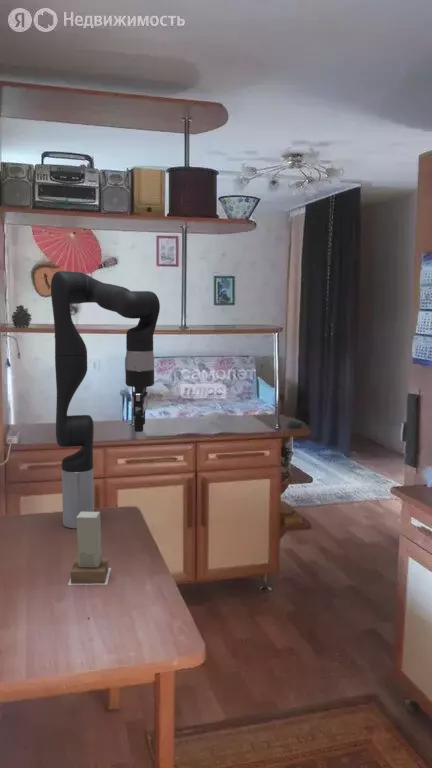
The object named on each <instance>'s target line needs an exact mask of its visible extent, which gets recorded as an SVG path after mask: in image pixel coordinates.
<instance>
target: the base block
mask: <svg viewBox="0 0 432 768" xmlns="http://www.w3.org/2000/svg"><path fill="white" fill-rule="evenodd" d="M108 568H109V557H102V561H101V563H100V565H99V567H94V568H91V567H78V557H76V558H75V559H74V562H73V565H72V568H71V570H70V578H71V584H96V583H105V580H106V576H107V573H108Z"/></svg>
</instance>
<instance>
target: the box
mask: <svg viewBox="0 0 432 768" xmlns="http://www.w3.org/2000/svg"><path fill="white" fill-rule="evenodd" d="M76 523H77V528H76V540H77V541H76V542H77V543H76V544H77V558H78V567H91V568H94V567H99V565H100V563H101V561H102V558H103V556H102V555H103V554H102V553H103V549H102V528H101V527H102V524H101V512H100V511H94V512H80V513H79V514H78V516H77V517H76Z"/></svg>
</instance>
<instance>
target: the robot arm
mask: <svg viewBox="0 0 432 768" xmlns="http://www.w3.org/2000/svg"><path fill="white" fill-rule="evenodd" d="M50 282H51V283H50V296H51V304H52V315H53V323H54V324H53V325H54V365H55V366H54V369H55V370H54V371H55V384H56V385H55V386H56V408H55V409H56V410H55V412H56V413H55V437H56V443H57V445H58V446H59V447H61V448H70V447H72V448H73V447H80V449H79V450H78V451H76V452H74V453H73V454H69V455H67V456H66V457H64V458H63V459H62V460H61V488H62V489H61V490H62V491H61V492H62V495H61V496H62V502H61V503H62V525H63V526H64V527H65V528H69V529H77V523H76V517H77V516H78V514H79V513H80V512H95V501H94V500H95V493H94V431H95V430H94V429H95V428H94V420H93V417H92V416H91V415H89V414H81V415H80V414H77V415H76V414H73V415H68V410H69V406H70V404H71V401H72V399H73V397H74V396H75V394H76V392H77V390H78V389H79V387H80V386H81V383H82V382H83V380H84V379H85V377H86V375H87V372H88V349H87V346H86V344H85V341H84V339H83V337H82V336H81V334H80V333H79V331H78V330H77V327H76V326H75V324H74V322H73V319H72V312H71V304H73V305H74V304H79V305H80V304H87V303H88V304H89V303H96V304H97V305H98V306H99V307H100V308H102V309H105V310H107V311H111V312H113V313H117V314H118V315H120V316H121V317H123V318H125V319H134V320H135V319H139V320H138V323H137V325H136V326H134V327H130V328H128V329H127V331H126V334H125V335H126V338H125V339H126V341H125V343H126V345H125V349H126V350H125V351H126V353H125V385H126V386H127V387H130V388H132V387H133V388H134V391H133V392H132V393H131V399H132V404H131V405H132V411H133V412H132V416H133V418H134V432H135V433H142V432H143V431H144V425H146V410H147V406H148V396H149V393H148V391H147V388H148V387H152V386H154V385H155V357H154V356H155V354H154V334H155V331H156V326H157V322H158V320H159V316H160V308H161V303H160V299H159V298H158V295H157V294H156V293H155V292H153V291H152V290H151V291H150V290H148V291H147V290H143V291H142V290H140V291H139V290H137V291H136V290H130V289H128V288H127V287H124V286H120V285H116V284H111V283H106V282H102V281H99V280H98V279H95V278H94V277H93V276H90V275H88V274H87V273H84V272H81V271H79V272H78V271H68V270H67V271H64V270H58V271H56V272H55V273H53V275H52V277H51V281H50Z"/></svg>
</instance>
